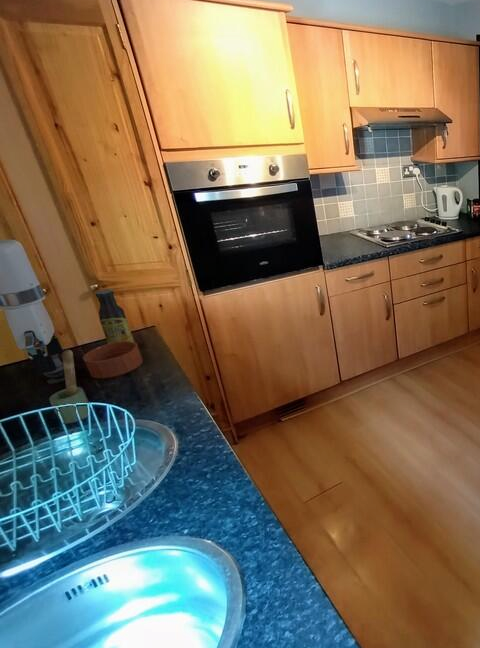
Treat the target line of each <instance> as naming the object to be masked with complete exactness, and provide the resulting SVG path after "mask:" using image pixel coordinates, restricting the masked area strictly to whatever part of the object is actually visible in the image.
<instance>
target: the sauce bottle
mask: <svg viewBox="0 0 480 648" xmlns="http://www.w3.org/2000/svg"><path fill="white" fill-rule="evenodd" d="M95 296H96V298H97V299H98V303H99V309H98V317H99V318H98V319H99V323H100V325H101V329H102V331H103V334H104V337H105V340H106V342H107V343H106V344H110V343H114V342H121V341H132V342H135V339H134V337H133V334H132V331H131V328H130V325H129V321H128V318H127V316H126V314H125V311H124V309H123V307H121V306H120V305H118V303H117V301H116V298H115V292H114V290H113V289H111V288H105V289H100V290H97V291H96V292H95Z"/></svg>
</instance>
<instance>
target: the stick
mask: <svg viewBox="0 0 480 648" xmlns="http://www.w3.org/2000/svg"><path fill="white" fill-rule="evenodd" d="M61 356H62V362H63V365H64V373H65V381H64V382H65V389H66V390H67V397H70V396H72V395H74V394H75V393H77V387H78V385H77V377H76V369H75V361H74V360H75V359H74V353H73V351H72V350H70V349H65V350H63V352H62V353H61Z"/></svg>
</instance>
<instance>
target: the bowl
mask: <svg viewBox="0 0 480 648" xmlns="http://www.w3.org/2000/svg"><path fill="white" fill-rule="evenodd" d="M82 361H83V363H84V365H85V368H86V370H87V372H88V374H89V376H90V377H91V378H95V379H107V378H108V379H109V378H114V377H118V376H122V375H124V374H127V373H130V372H131V371H134V370H135V369H137V368H138V367H141V365H142V363H144V357H143V356H142V353H141V350H140V348H139V345H138V343H137V342H135V341H134V342H132V341H121V342H114V343H110V344H108V343H106V344H103V345H100V346H97V347H95V348H93V349H91V350H89V351H88V352H86V353H85V354H84V355H83V356H82Z"/></svg>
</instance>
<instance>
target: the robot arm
mask: <svg viewBox="0 0 480 648" xmlns="http://www.w3.org/2000/svg"><path fill="white" fill-rule="evenodd" d="M29 259H30V258H29V256H28V255H27V253H26V250H25V249H24V245H22V244H21V242H19V241H18V240H15V239H12V238H11V239H10V238H2V239H0V309H2V310H3V312H4V316H5V319H6V322H7V324H8V327H9V329H10V332H11V334H12V337H13V339H14V341H15V344H16V346H17V348H18V350H21V351H24V350H26V351H27V355H28V358H29V359H30V361H31V363H32V366H33V367H34V370H35V372H36V374H38V375H41V374H43V373H47V372H51V371H55V370H56V369H57V367H56V365H55V363H54V361H53V359H52V356H51V355H55V354H58V355H59V354H62V353H63V351H64V350H63V347H62V345H61V343H60V341H59V339H58V337H57V334H56V333H55V327H54V324H53V321H52V318H51V317H50V315H49V313H48V311H47V308H46V306H45V305H44V303H43V301H44V300H45V299H46V298H47V297H46V295H45V293H44V289H43V288H42V285H41V284H40V281H39V279H38V277H37V275H36V272H35V270H34V268H33V266H32V264H31V262H30V260H29ZM39 347H41V348H42V351H41V350H40V349H39Z"/></svg>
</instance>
